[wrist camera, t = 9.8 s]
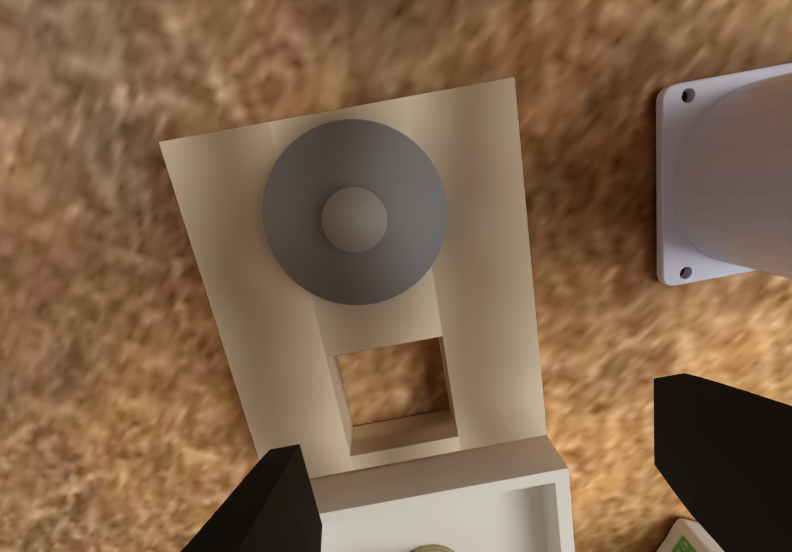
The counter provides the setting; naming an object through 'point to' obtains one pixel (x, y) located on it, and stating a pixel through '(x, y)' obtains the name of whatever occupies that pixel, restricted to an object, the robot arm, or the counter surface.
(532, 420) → the tensioner bracket
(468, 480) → the tray
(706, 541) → the skincare box
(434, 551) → the lock pin
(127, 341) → the counter surface
